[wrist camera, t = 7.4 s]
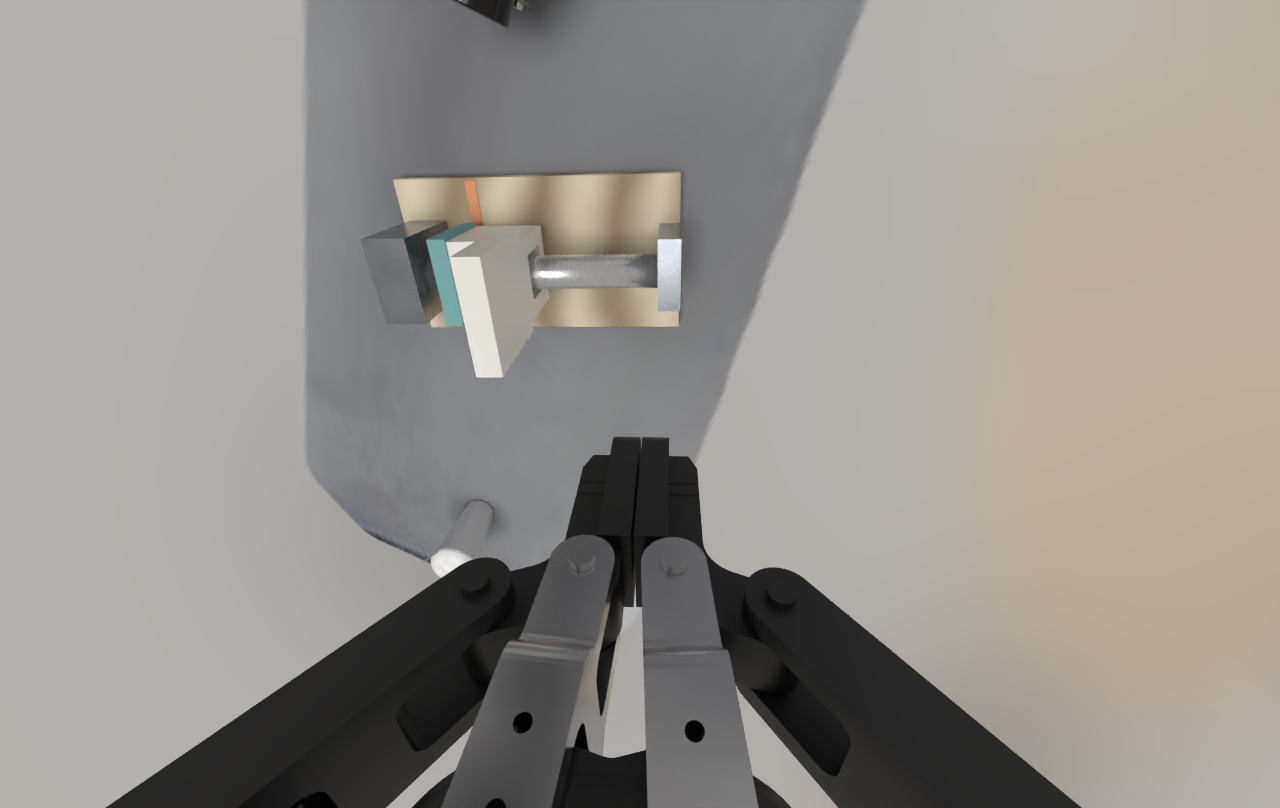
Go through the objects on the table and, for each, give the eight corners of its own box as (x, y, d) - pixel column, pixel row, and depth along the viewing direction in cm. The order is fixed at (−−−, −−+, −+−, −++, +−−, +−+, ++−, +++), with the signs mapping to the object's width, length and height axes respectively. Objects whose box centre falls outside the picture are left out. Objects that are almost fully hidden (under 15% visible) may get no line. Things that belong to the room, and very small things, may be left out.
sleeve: (539, 215, 35) (479, 256, 24) (550, 305, 39) (503, 377, 28) (473, 216, 36) (386, 257, 25) (491, 306, 39) (420, 377, 28)
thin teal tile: (476, 223, 36) (443, 239, 31) (490, 299, 39) (463, 326, 34) (460, 223, 36) (425, 239, 31) (476, 299, 39) (447, 326, 34)
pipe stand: (680, 171, 36) (682, 183, 29) (678, 320, 42) (679, 361, 35) (402, 177, 38) (337, 190, 30) (438, 321, 44) (392, 360, 36)
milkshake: (478, 485, 54) (441, 554, 45) (507, 516, 56) (477, 588, 47) (448, 498, 55) (407, 568, 46) (477, 529, 57) (443, 600, 49)
